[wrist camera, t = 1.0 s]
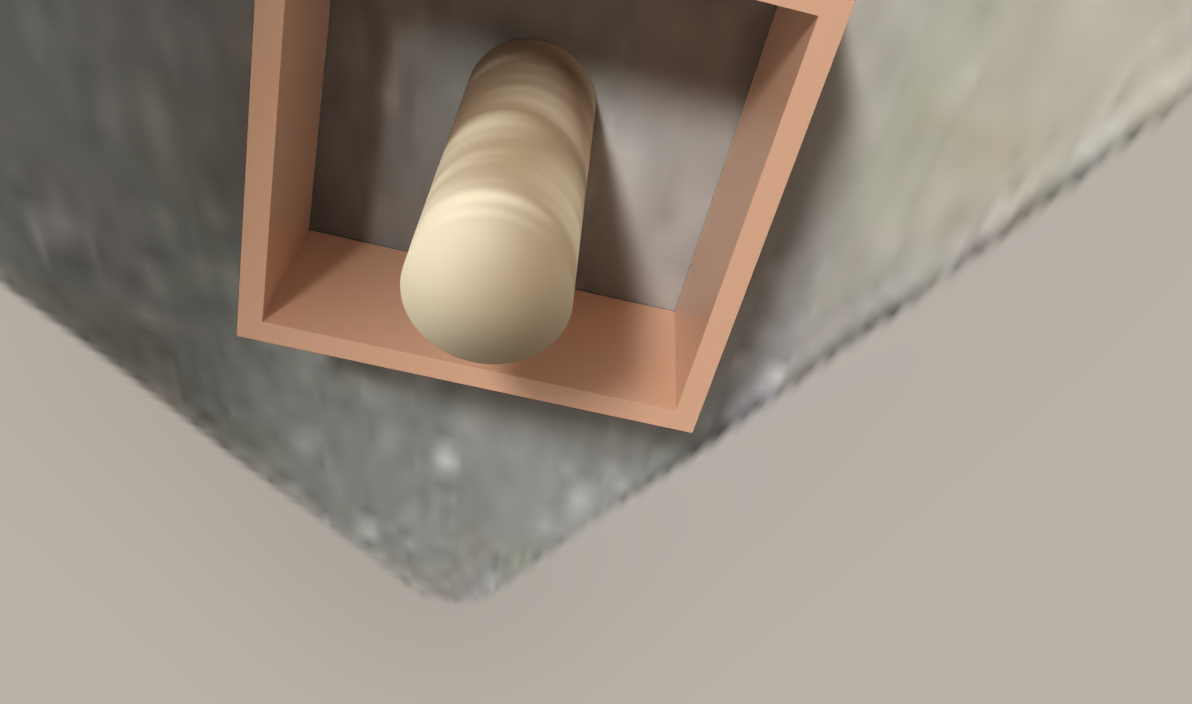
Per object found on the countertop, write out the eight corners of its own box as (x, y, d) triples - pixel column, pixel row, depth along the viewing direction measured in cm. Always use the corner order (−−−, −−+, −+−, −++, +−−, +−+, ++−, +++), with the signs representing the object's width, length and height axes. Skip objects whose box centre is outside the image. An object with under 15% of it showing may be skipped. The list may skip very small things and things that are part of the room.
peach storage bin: (285, 243, 42) (236, 335, 37) (322, -204, 33) (263, -159, 28) (689, 332, 43) (692, 433, 39) (830, -71, 34) (858, -6, 29)
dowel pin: (457, 144, 39) (390, 344, 29) (478, 24, 37) (412, 200, 27) (579, 172, 40) (553, 379, 30) (609, 56, 37) (591, 241, 27)
